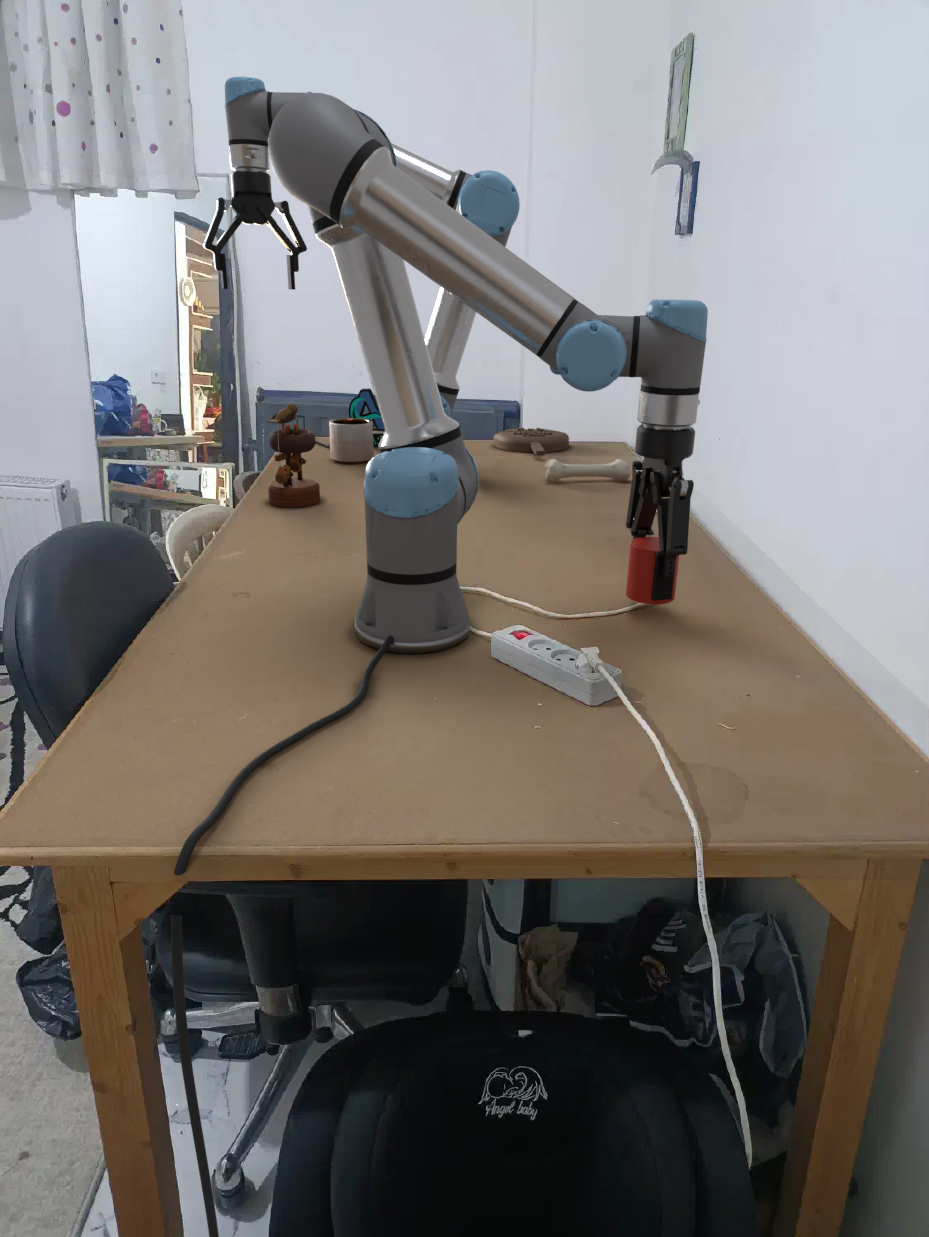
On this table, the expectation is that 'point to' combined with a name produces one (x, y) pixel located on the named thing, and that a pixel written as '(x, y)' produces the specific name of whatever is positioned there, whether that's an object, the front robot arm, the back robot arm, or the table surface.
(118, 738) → the table surface
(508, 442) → the ice cream bar
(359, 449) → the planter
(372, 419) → the decorative sign
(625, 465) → the dog toy
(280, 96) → the back robot arm
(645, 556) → the canister
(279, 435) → the music box
